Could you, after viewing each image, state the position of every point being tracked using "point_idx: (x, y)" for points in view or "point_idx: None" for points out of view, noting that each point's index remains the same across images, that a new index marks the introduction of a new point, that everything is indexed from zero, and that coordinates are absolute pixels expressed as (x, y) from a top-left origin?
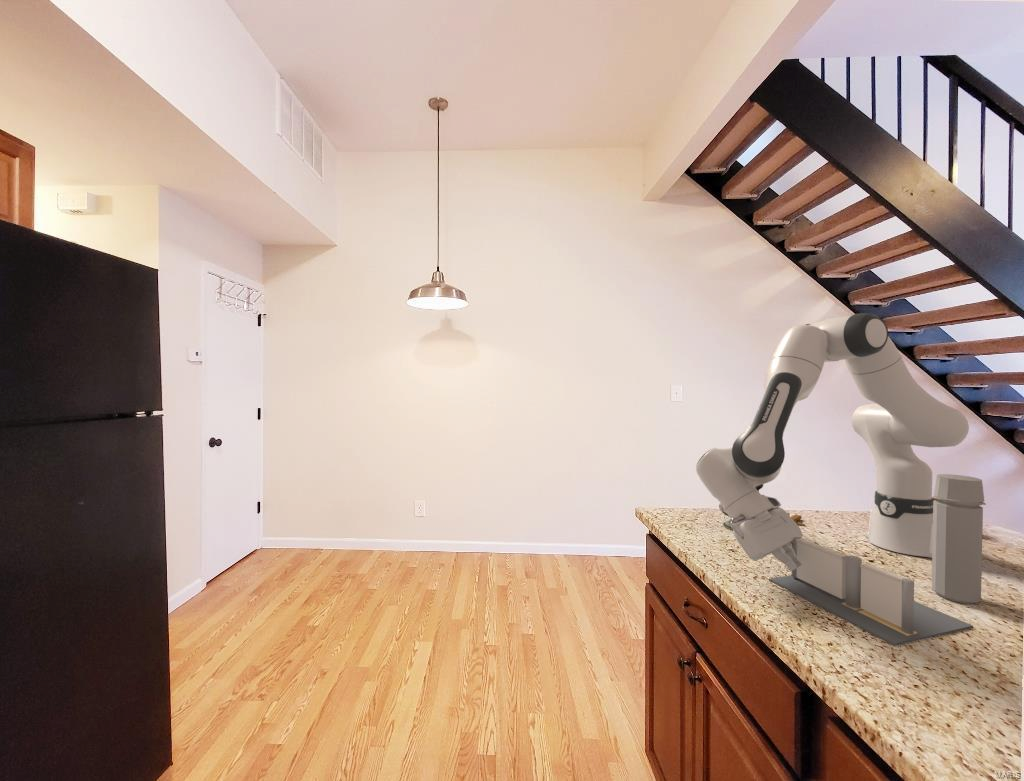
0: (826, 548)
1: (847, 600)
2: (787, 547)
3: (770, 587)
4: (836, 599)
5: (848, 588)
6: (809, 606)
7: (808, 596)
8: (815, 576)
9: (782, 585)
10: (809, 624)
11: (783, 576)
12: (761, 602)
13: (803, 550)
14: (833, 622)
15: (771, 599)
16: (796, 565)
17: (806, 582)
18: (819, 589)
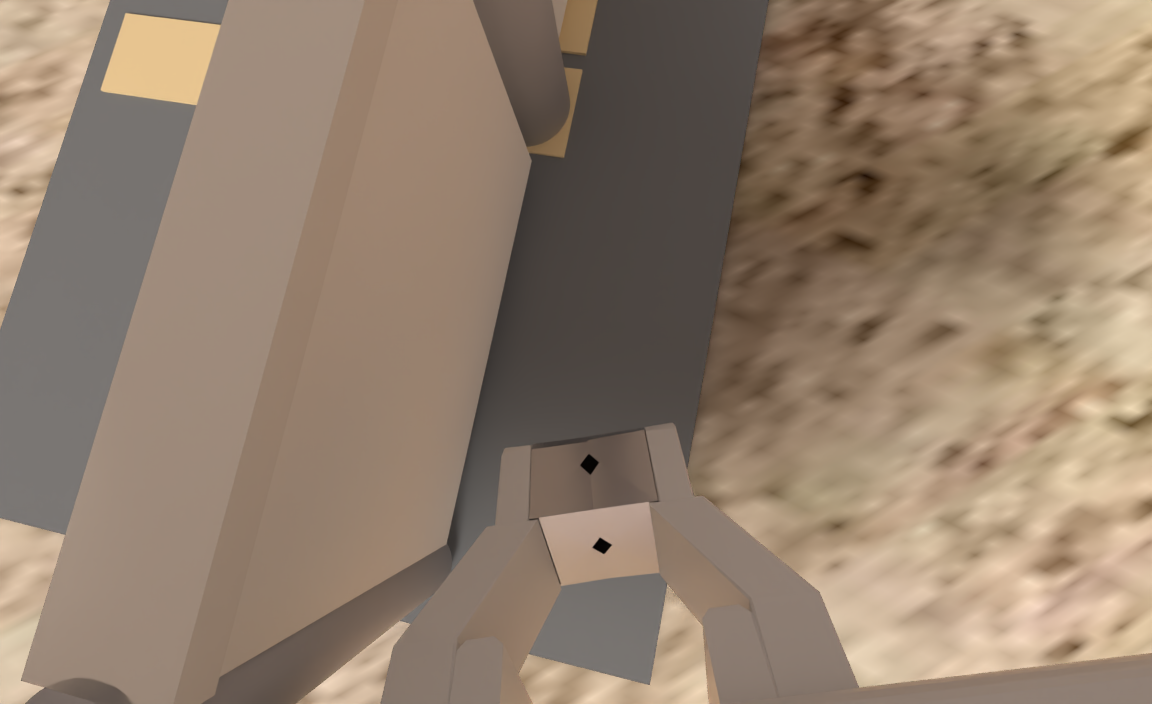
0: (222, 117)
1: (562, 97)
2: (503, 695)
3: None
4: (526, 207)
5: (550, 23)
6: (788, 254)
7: (669, 323)
8: (459, 354)
9: None
10: (1050, 113)
11: None
12: (1102, 460)
13: (310, 515)
14: (859, 66)
15: (968, 452)
16: (653, 432)
17: None
18: None
